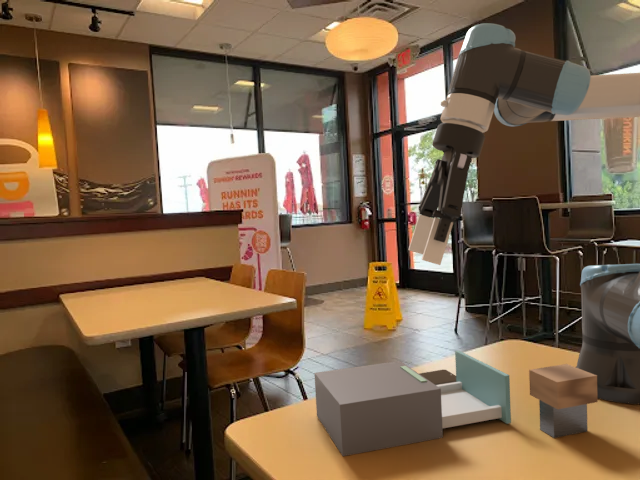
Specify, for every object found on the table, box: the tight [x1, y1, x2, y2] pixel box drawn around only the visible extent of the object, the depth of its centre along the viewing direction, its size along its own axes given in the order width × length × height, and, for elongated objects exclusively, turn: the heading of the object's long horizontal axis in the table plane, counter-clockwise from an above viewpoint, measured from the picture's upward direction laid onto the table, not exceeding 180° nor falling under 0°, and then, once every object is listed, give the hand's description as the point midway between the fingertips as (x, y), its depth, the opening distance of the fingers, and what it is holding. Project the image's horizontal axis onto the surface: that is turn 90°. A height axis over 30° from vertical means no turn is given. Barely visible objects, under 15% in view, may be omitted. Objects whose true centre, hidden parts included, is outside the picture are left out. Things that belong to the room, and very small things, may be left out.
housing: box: [314, 360, 444, 457], centre depth 79 cm, size 16×15×8 cm
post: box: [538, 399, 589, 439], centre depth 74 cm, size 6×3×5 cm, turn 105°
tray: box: [436, 350, 512, 429], centre depth 82 cm, size 16×15×8 cm
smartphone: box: [418, 369, 456, 385], centre depth 98 cm, size 7×1×16 cm
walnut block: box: [528, 363, 599, 409], centre depth 74 cm, size 7×6×4 cm
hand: (422, 257), depth 79 cm, fingers open, 13 cm apart
